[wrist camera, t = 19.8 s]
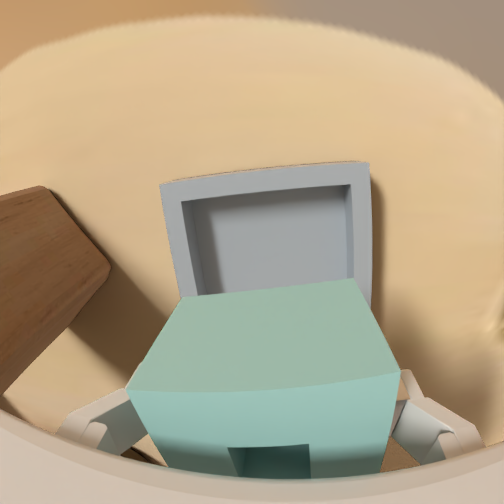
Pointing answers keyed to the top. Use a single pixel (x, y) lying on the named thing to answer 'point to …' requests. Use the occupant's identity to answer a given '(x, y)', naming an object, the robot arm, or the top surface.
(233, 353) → the narrow bore block
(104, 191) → the top surface
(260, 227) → the tray
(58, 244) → the block
